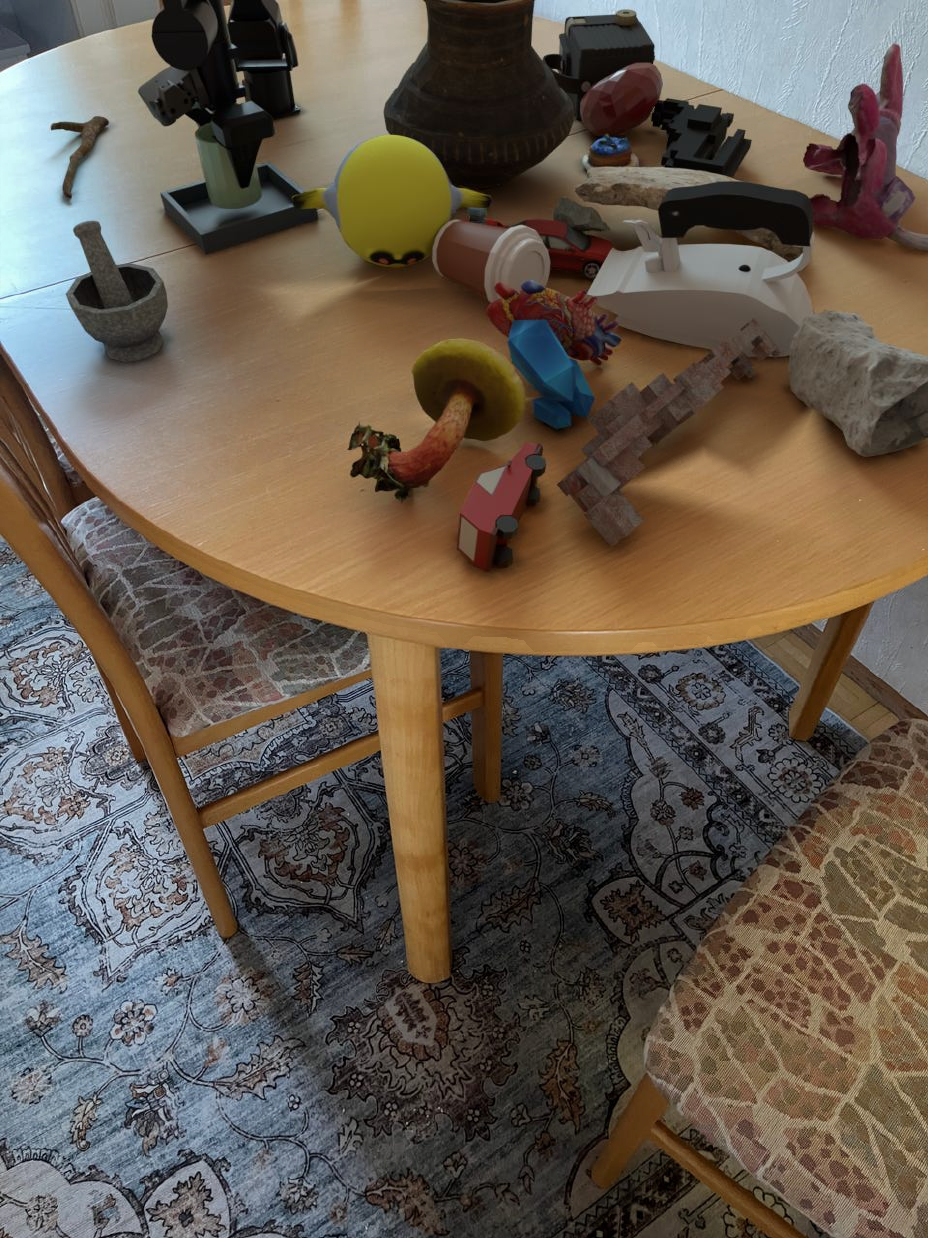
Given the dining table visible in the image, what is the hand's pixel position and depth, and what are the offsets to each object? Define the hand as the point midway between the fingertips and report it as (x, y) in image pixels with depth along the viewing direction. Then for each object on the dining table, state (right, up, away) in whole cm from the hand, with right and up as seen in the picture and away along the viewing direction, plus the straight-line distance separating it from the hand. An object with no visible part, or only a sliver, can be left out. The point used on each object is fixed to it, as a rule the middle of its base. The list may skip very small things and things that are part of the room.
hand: (233, 176), depth 114 cm
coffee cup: (+28, -13, -10) cm, 32 cm away
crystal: (+40, -37, -28) cm, 61 cm away
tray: (0, -3, +4) cm, 5 cm away
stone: (+40, -7, -7) cm, 42 cm away
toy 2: (+72, +3, -5) cm, 72 cm away
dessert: (+50, +5, +11) cm, 51 cm away
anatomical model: (+33, -23, -28) cm, 49 cm away
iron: (+56, -23, -14) cm, 62 cm away
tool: (+60, +7, +11) cm, 62 cm away
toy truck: (+35, -47, -37) cm, 69 cm away
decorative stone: (+71, -35, -34) cm, 86 cm away
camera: (+56, +28, +21) cm, 66 cm away
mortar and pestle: (-7, -25, -15) cm, 30 cm away
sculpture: (+58, -28, -23) cm, 69 cm away
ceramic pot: (+31, +5, +10) cm, 33 cm away
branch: (-24, +10, +15) cm, 30 cm away
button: (+31, -6, -6) cm, 32 cm away
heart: (+50, +13, +10) cm, 53 cm away
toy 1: (+20, -8, -1) cm, 21 cm away
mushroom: (+25, -44, -38) cm, 64 cm away
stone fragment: (+56, 0, +1) cm, 56 cm away
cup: (0, -2, +2) cm, 3 cm away
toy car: (+40, -14, -6) cm, 42 cm away
